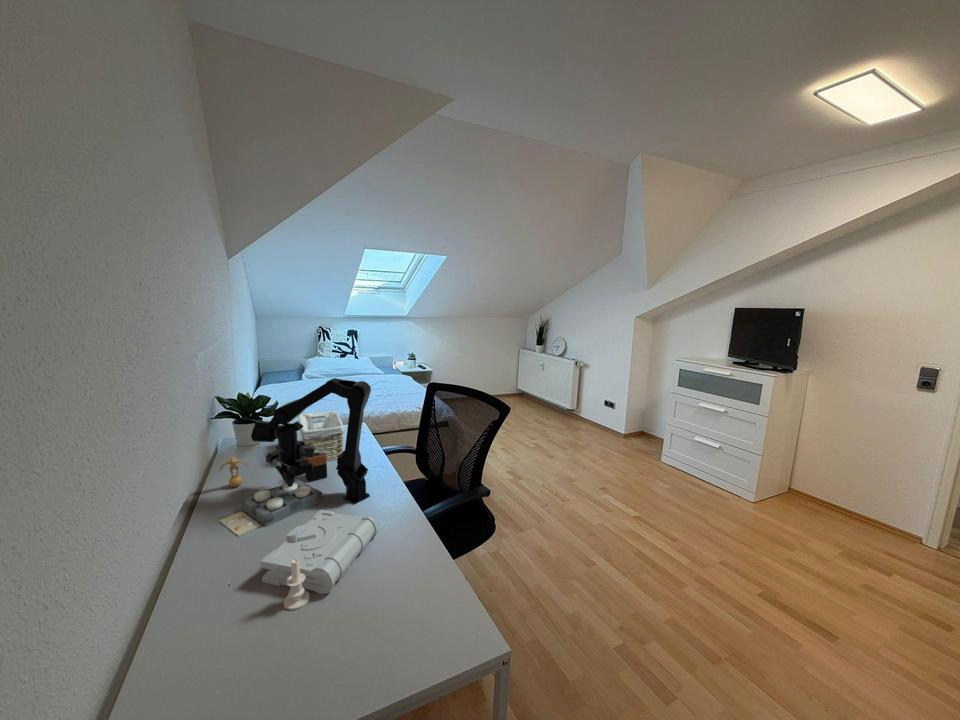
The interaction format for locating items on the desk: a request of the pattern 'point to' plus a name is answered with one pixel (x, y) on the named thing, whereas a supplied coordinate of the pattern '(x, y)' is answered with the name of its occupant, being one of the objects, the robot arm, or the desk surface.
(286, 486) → the button
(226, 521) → the pattern card
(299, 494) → the button
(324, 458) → the battery
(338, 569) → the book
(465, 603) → the desk surface
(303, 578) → the candle
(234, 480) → the figurine
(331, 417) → the storage basket
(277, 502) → the button
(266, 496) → the button
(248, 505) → the button board
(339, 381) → the robot arm
